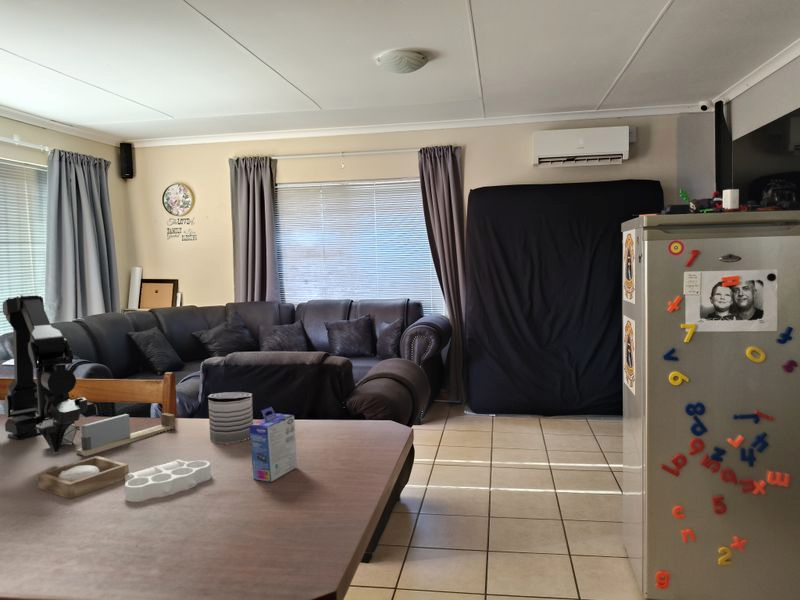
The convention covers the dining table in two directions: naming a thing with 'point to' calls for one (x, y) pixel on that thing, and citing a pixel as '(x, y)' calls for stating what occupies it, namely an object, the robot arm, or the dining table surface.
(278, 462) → the ink cartridge box
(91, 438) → the panel
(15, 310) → the robot arm
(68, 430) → the game die
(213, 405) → the can
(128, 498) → the white brass knuckles
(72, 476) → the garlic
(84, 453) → the rail
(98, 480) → the garlic tray
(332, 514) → the dining table surface
